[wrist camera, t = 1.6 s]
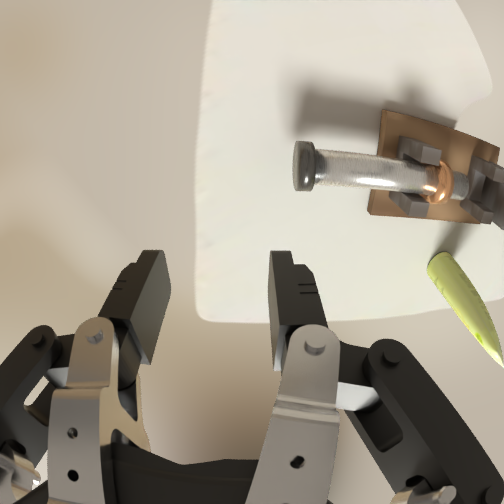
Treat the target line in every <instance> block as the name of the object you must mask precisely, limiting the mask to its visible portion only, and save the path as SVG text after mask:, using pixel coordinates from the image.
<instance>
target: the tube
mask: <svg viewBox="0 0 504 504" xmlns="http://www.w3.org/2000/svg"><path fill="white" fill-rule="evenodd" d="M427 273H428V276H429V277H430V278H431V280H432V281H433V283H434V284H435V285H436V287H437V288H438V289H439V291H440V292H441V294H442V295H443V296H444V298H445V299H446V300H447V302H448V303H449V304H450V306H451V307H452V308H453V310H454V311H455V313H456V314H457V315H458V317H459V318H460V319H461V320H462V322H463V323H464V324H465V326H466V327H467V328H468V329H469V330H470V332H471V333H472V334H473V336H474V337H475V338H476V339H477V340H478V342H479V343H480V344H481V345H482V346H483V348H484V349H485V350H486V351H487V352H488V353H489V355H490V356H491V357H492V358H493V359H494V360H495V361H496V362H498V363H499V364H500V365H501V366H503V368H504V365H503V357H502V350H501V346H500V342H499V339H498V335H497V333H496V330H495V327H494V324H493V322H492V319H491V317H490V315H489V313H488V311H487V309H486V306H485V304H484V303H483V301H482V299H481V297H480V295H479V294H478V292H477V291H476V289H475V287H474V286H473V284H472V283H471V281H470V280H469V278H468V277H467V276H466V274H465V273H464V271H463V270H462V269H461V267H460V266H459V265H458V263H457V262H456V261H455V260H454V258H453V257H452V256H451V255H450V254H449V253H448V252H441V253H439V254H437V255H436V256H435V257H433V259H432V260H431V261H430V263H429V265H428V268H427Z"/></svg>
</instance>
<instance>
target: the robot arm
mask: <svg viewBox="0 0 504 504" xmlns="http://www.w3.org/2000/svg"><path fill="white" fill-rule="evenodd" d="M170 294H171V283H170V278H169V273H168V268H167V264H166V258H165V254H164V251H163V250H143V251H142V253H141V255H140V256H139V258H138V260H137V262H136V263H130V264H129V265H128V266H127V267H126V268H124V269H123V270H122V271H121V273H120V275H119V277H118V278H117V282H115V284H114V286H113V288H112V290H111V291H110V293H109V295H108V297H107V299H106V301H105V303H104V305H103V307H102V309H101V311H100V312H99V314H98V317H94V318H91V319H88V320H86V321H85V322H83V323H82V324H81V325H80V326H79V327H78V329H77V331H76V333H75V334H70V335H63V336H57V335H56V334H55V332H54V331H53V329H52V328H51V327H49V326H47V325H41V326H38V327H36V328H34V329H32V330H31V331H30V332H29V333H28V334H27V335H26V336H25V337H24V338H23V340H22V341H21V342H20V343H19V344H18V345H17V346H16V347H15V349H14V350H13V351H12V352H11V353H10V354H9V355H8V357H7V358H6V359H5V360H4V361H3V363H2V364H1V365H0V504H333V503H332V502H330V501H329V500H328V499H327V498H328V494H329V489H330V484H331V478H332V473H333V467H334V460H335V455H336V448H337V440H338V433H339V424H340V416H339V412H338V411H336V408H339V409H344V411H345V413H346V414H347V416H348V417H349V419H350V421H351V422H352V424H353V426H354V427H355V429H356V430H357V432H358V434H359V435H360V437H361V439H362V440H363V442H364V443H365V445H366V447H367V448H368V450H369V452H370V453H371V455H372V457H373V458H374V460H375V461H376V463H377V465H378V466H379V468H380V470H381V471H382V473H383V474H384V476H385V478H386V479H387V481H388V483H389V484H390V485H391V487H392V489H393V491H394V492H395V494H396V495H395V496H394V497H393V499H392V501H391V502H390V504H501V502H502V500H503V497H504V481H503V479H502V477H501V476H500V474H499V472H498V471H497V469H496V468H495V466H494V464H493V463H492V461H491V460H490V458H489V457H488V455H487V454H486V452H485V450H484V449H483V448H482V446H481V445H480V443H479V442H478V440H477V439H476V437H475V436H474V435H473V433H472V432H471V430H470V429H469V427H468V426H467V424H466V423H465V422H464V420H463V419H462V418H461V416H460V415H459V413H458V412H457V411H456V409H455V408H454V407H453V405H452V404H451V403H450V401H449V400H448V399H447V397H446V396H445V395H444V394H443V392H442V391H441V390H440V388H439V387H438V386H437V384H436V383H435V382H434V381H433V380H432V378H431V377H430V376H429V374H428V373H427V372H426V371H425V370H424V368H423V367H422V366H421V365H420V363H419V362H418V361H417V359H416V358H415V357H414V356H413V355H412V353H411V352H410V351H409V350H408V349H407V348H406V347H405V346H404V345H403V344H402V343H400V342H398V341H396V340H393V339H381V340H378V341H376V342H375V343H373V344H372V346H371V347H370V348H364V347H358V346H353V345H349V344H346V343H344V342H342V341H340V340H339V339H338V337H337V336H336V334H335V333H334V332H333V331H331V330H330V329H329V328H328V325H327V321H326V318H325V314H324V310H323V307H322V303H321V299H320V296H319V294H318V289H317V285H316V282H315V278H314V275H313V273H312V272H311V271H310V269H309V268H308V267H307V266H306V265H305V264H294V263H293V258H292V254H291V251H270V262H269V278H268V303H269V316H270V330H271V343H272V357H273V371H281V376H282V378H281V382H280V386H279V390H278V395H277V398H276V402H275V405H274V408H273V412H272V416H271V420H270V423H269V427H268V431H267V434H266V438H265V442H264V445H263V448H262V452H261V455H260V459H259V460H235V459H233V460H232V459H223V460H218V461H211V462H204V463H197V464H188V465H181V464H177V463H175V462H172V461H170V460H167V459H165V458H162V457H160V456H158V455H155V454H153V453H151V449H150V443H149V439H148V436H147V433H146V431H145V429H144V425H143V418H142V404H141V386H140V376H139V373H138V369H139V366H140V364H147V365H151V361H152V357H153V354H154V350H155V346H156V343H157V339H158V336H159V332H160V328H161V325H162V321H163V319H164V315H165V311H166V308H167V305H168V302H169V299H170ZM43 376H44V377H45V378H46V379H47V380H48V381H49V383H48V384H47V386H46V387H45V388H44V389H43V391H42V392H41V393H40V394H39V396H38V397H37V398H36V400H35V401H34V402H33V404H31V405H29V406H26V405H24V401H25V399H26V397H27V396H28V395H29V394H30V392H31V391H32V390H33V388H34V387H35V386H36V385H37V383H38V382H39V380H40V379H41V378H42V377H43ZM47 449H48V457H47V458H48V459H47V460H48V461H47V462H48V463H47V464H48V465H47V466H48V480H46V481H45V482H44V483H42V484H41V485H39V486H38V487H37V488H35V489H34V490H32V485H33V483H34V484H38V483H39V482H40V480H41V477H40V474H39V473H38V472H37V471H36V470H35V468H36V466H37V464H38V463H39V461H40V460H41V458H42V457H43V455H44V454H45V452H46V451H47Z"/></svg>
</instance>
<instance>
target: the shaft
mask: <svg viewBox="0 0 504 504" xmlns="http://www.w3.org/2000/svg"><path fill="white" fill-rule="evenodd" d="M293 183H294V188H295V190H296V191H311V190H312V189H313V186H314V185H327V186H343V187H356V188H368V189H378V190H388V191H397V192H406V193H414V194H420V196H422V197H423V198H424V199H425V200H427V201H428V202H429V203H431V204H439V205H442V204H445V203H446V202H447V201H448V200H449V199H456V200H463V199H464V198H465V197H466V196H467V194H468V191H469V181H468V178H467V176H466V175H465V174H464V173H463V172H459V171H455V170H452V169H451V167H450V165H449V164H448V163H447V162H446V161H444V160H440V163H439V166H436V165H432V164H427V163H418V162H413V161H408V160H402V159H396V158H390V157H383V156H377V155H369V154H362V153H353V152H344V151H334V150H323V149H315V147H314V144H313V143H312V142H306V141H296V143H295V147H294V153H293Z"/></svg>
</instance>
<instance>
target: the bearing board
mask: <svg viewBox="0 0 504 504" xmlns="http://www.w3.org/2000/svg"><path fill="white" fill-rule="evenodd" d="M499 151H500V148H499V147H497V146H494V145H492V144H490V143H488V142H485V141H483V140H481V139H478V138H476V137H473V136H471V135H468V134H465V133H463V132H460V131H457V130H454V129H451V128H448V127H445V126H442V125H439V124H436V123H433V122H430V121H426V120H423V119H419V118H416V117H412V116H408V115H404V114H400V113H396V112H391V111H387V110H382V117H381V127H380V135H379V143H378V151H377V156H383V157H390V158H396V159H402V160H408V161H413V162H418V163H427V164H432V165H436V166H439V163H440V160H444V161H446V162H447V163H448V164H449V165H450V167H451V169H452V170H455V171H459V172H463V173H464V174H465V175H466V176H467V178H468V181H469V191H468V194H467V196H466V197H465V198H464V199H463V200H456V199H449V200H448V201H447V202H446V203H445V204H442V205H439V204H431V203H429V202H428V201H427V200H425V199H424V198H423V197H422V196H420V194H414V193H406V192H397V191H388V190H378V189H371V193H370V198H369V203H368V208H367V211H368V212H369V214H370V215H377V216H393V217H408V218H421V219H433V220H444V221H454V222H464V223H473V224H480V223H484V224H491V222H492V221H493V222H494V223H495V224H496V225H497V226H498V227H500V228H501V229H502V230H504V168H503V167H501V166H499V165H497V161H498V156H499Z"/></svg>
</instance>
